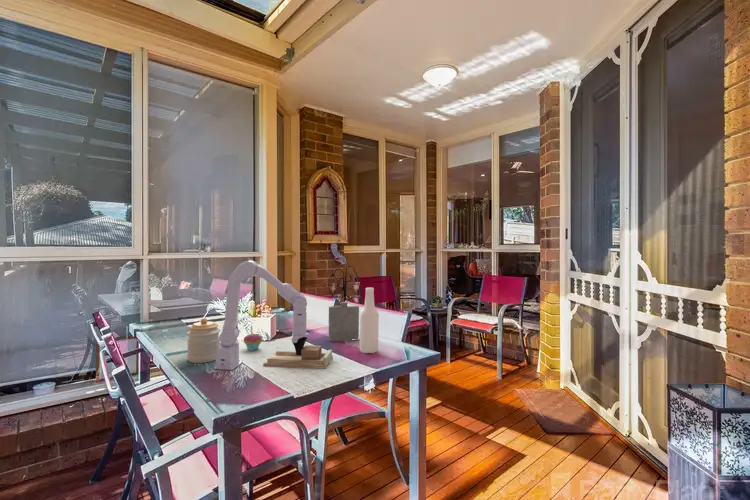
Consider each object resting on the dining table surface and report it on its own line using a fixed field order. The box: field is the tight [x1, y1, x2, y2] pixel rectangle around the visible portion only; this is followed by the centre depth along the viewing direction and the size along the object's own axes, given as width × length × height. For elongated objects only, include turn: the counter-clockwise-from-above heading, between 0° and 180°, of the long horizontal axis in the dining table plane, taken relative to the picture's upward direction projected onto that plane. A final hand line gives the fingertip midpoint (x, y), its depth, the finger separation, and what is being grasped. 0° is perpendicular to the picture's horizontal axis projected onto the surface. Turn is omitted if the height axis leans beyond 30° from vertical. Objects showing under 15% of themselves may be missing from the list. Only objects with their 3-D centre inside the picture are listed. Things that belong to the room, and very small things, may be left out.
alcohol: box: [359, 286, 380, 355], centre depth 174 cm, size 9×9×30 cm
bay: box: [262, 349, 333, 369], centre depth 157 cm, size 14×26×4 cm, turn 85°
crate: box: [301, 344, 323, 360], centre depth 157 cm, size 7×7×5 cm
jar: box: [186, 317, 221, 364], centre depth 160 cm, size 13×13×18 cm
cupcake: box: [243, 325, 263, 352], centre depth 174 cm, size 9×8×12 cm
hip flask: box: [328, 301, 360, 342], centre depth 193 cm, size 16×4×20 cm, turn 103°
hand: (299, 354), depth 157 cm, fingers closed, pressing on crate
